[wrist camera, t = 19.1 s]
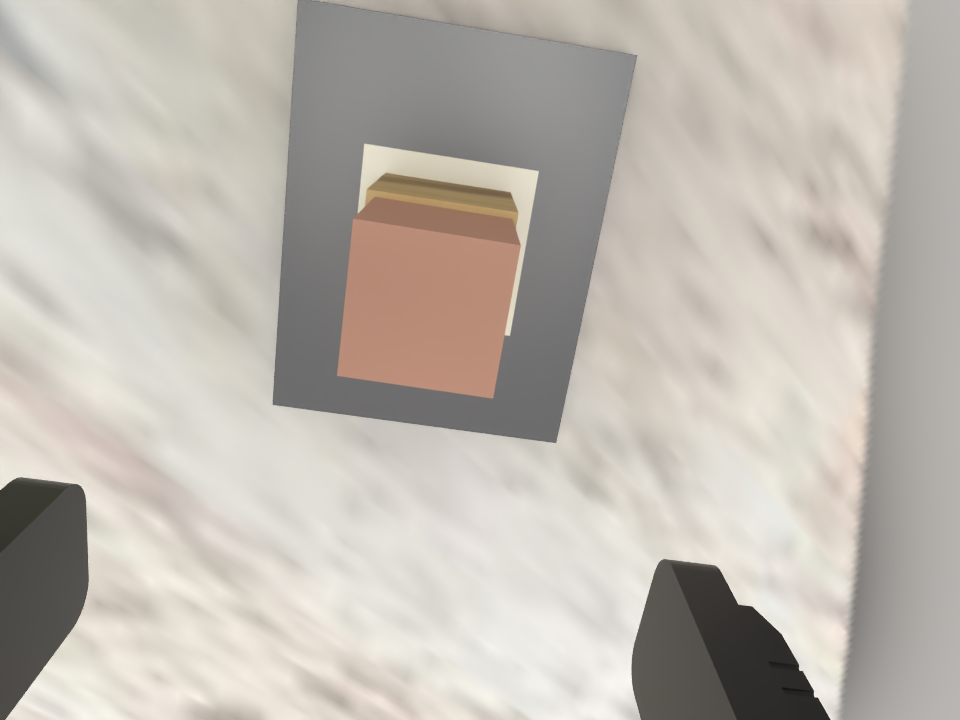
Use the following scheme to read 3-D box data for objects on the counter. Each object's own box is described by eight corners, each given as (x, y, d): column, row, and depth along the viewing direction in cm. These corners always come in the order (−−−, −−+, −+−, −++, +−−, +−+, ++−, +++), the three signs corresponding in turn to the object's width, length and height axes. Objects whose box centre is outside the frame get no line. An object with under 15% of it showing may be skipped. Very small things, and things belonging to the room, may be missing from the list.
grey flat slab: (303, 1, 30) (297, -3, 29) (632, 56, 31) (637, 55, 30) (277, 396, 36) (272, 405, 35) (553, 434, 37) (556, 443, 36)
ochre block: (385, 172, 32) (366, 189, 26) (510, 192, 32) (518, 212, 26) (372, 294, 33) (352, 334, 28) (491, 311, 34) (494, 354, 28)
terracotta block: (374, 196, 26) (353, 218, 21) (512, 219, 26) (521, 245, 22) (360, 328, 28) (337, 375, 23) (489, 347, 28) (492, 398, 23)
